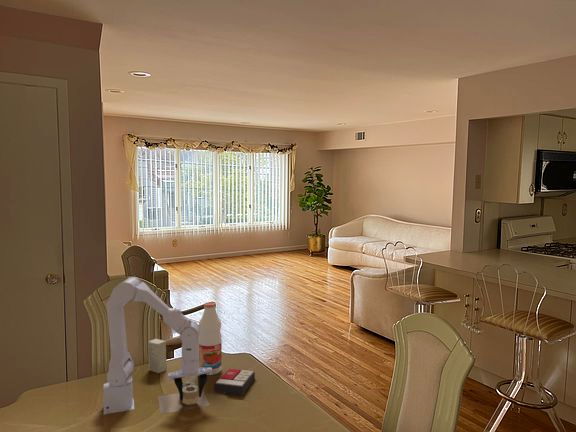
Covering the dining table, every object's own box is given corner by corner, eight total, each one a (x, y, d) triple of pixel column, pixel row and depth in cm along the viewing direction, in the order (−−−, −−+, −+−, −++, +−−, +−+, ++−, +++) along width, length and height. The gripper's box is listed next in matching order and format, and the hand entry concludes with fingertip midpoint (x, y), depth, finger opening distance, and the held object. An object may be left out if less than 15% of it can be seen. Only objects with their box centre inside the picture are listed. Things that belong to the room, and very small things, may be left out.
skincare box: (167, 370, 177) (166, 341, 176) (158, 373, 173) (158, 344, 173) (156, 366, 180) (156, 338, 180) (147, 370, 177) (147, 341, 176)
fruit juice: (213, 364, 183) (213, 299, 182) (226, 371, 177) (226, 303, 175) (193, 370, 177) (193, 303, 175) (206, 377, 170) (206, 307, 168)
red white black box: (255, 370, 170) (242, 385, 155) (254, 381, 170) (242, 396, 155) (228, 367, 172) (214, 381, 158) (228, 378, 172) (213, 393, 158)
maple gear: (183, 405, 144) (183, 393, 144) (181, 398, 149) (181, 386, 149) (200, 402, 146) (199, 391, 146) (197, 395, 151) (197, 384, 151)
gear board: (161, 415, 141) (160, 399, 141) (157, 397, 153) (157, 382, 153) (209, 407, 147) (209, 391, 147) (202, 390, 159) (202, 375, 159)
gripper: (169, 366, 140) (169, 406, 141) (213, 360, 146) (213, 399, 147) (167, 358, 147) (167, 396, 148) (209, 352, 152) (209, 390, 153)
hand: (190, 397), depth 148 cm, fingers closed on maple gear, 5 cm apart
